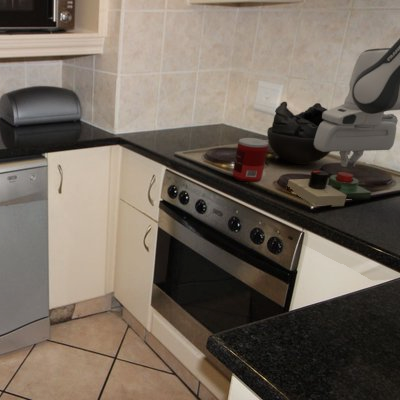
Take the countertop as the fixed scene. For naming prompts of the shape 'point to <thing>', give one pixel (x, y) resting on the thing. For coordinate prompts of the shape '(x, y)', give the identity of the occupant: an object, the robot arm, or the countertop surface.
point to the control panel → (317, 193)
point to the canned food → (250, 159)
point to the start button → (344, 176)
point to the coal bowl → (296, 134)
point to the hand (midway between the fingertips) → (347, 166)
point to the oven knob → (318, 179)
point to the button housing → (349, 188)
